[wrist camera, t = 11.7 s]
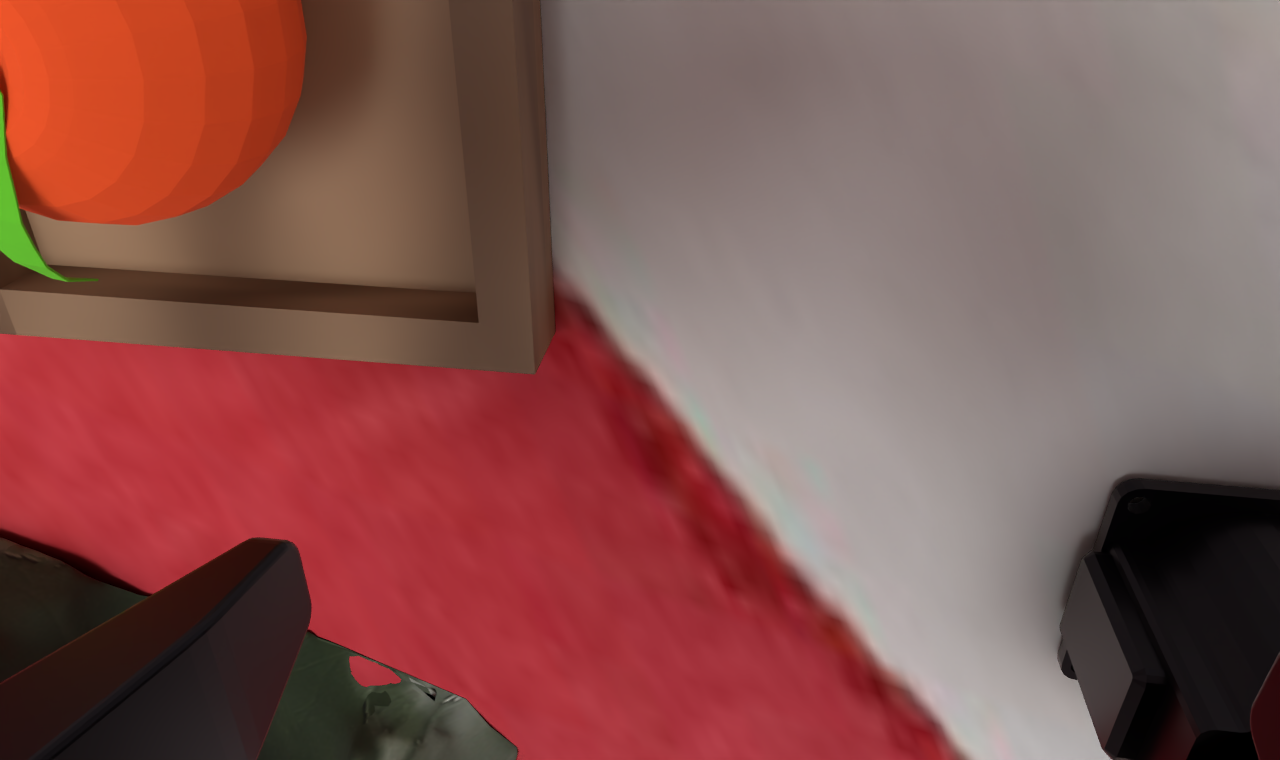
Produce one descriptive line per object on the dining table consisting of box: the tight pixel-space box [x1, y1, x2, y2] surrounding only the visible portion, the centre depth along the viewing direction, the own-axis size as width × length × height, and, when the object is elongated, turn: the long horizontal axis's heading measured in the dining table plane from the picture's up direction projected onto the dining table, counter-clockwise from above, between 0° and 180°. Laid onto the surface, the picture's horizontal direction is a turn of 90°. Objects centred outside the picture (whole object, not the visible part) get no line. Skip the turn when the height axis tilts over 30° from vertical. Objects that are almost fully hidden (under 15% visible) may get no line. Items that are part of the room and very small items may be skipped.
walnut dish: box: [0, 0, 555, 374], centre depth 18 cm, size 14×14×2 cm
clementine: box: [0, 0, 307, 282], centre depth 16 cm, size 8×7×7 cm
